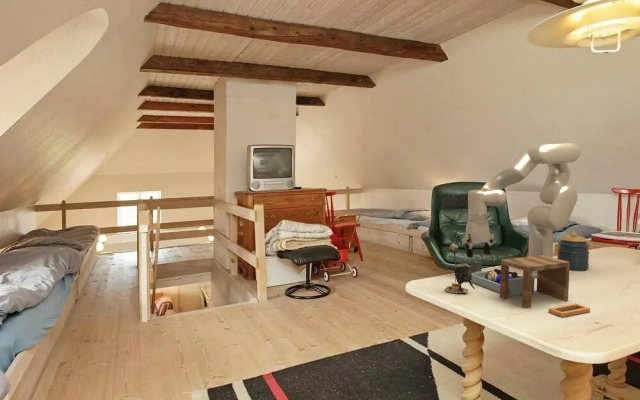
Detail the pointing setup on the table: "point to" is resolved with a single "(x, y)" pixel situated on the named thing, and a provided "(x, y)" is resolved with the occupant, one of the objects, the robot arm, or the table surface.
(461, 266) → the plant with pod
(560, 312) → the wooden rectangular frame
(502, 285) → the small wooden table
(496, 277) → the character figurine
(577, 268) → the canister
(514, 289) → the sled
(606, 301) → the table surface
